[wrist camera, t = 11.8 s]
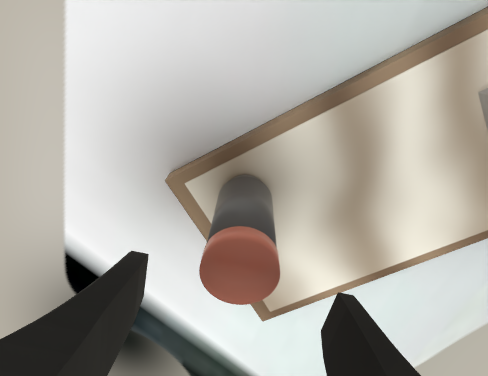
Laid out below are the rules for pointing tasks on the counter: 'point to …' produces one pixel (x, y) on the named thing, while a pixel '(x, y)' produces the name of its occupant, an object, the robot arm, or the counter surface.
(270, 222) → the marker
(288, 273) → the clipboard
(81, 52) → the counter surface
